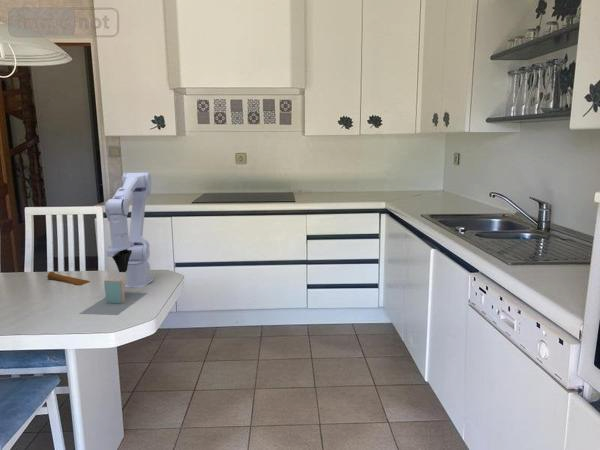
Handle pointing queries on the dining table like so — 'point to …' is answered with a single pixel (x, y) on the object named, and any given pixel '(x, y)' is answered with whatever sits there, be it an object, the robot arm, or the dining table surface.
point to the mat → (113, 305)
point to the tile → (114, 291)
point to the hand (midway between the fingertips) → (122, 271)
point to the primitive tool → (66, 279)
